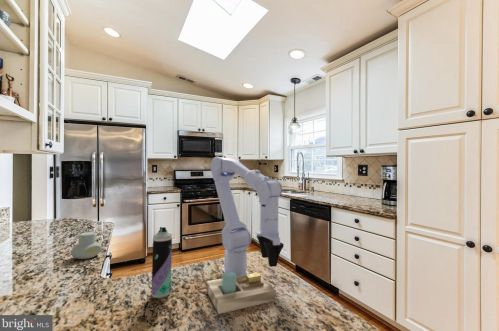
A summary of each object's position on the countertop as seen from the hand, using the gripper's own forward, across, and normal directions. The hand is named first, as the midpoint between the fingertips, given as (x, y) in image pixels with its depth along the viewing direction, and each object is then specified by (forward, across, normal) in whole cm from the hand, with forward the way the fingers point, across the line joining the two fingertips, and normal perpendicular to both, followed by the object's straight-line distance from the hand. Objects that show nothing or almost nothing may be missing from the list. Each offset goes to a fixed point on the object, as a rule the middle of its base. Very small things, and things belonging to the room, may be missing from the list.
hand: (269, 261), depth 74 cm
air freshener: (+9, -43, -68) cm, 82 cm away
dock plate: (+9, +1, -10) cm, 13 cm away
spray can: (+9, -5, -33) cm, 34 cm away
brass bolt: (+6, +1, -5) cm, 8 cm away
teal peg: (+9, +2, -13) cm, 16 cm away
